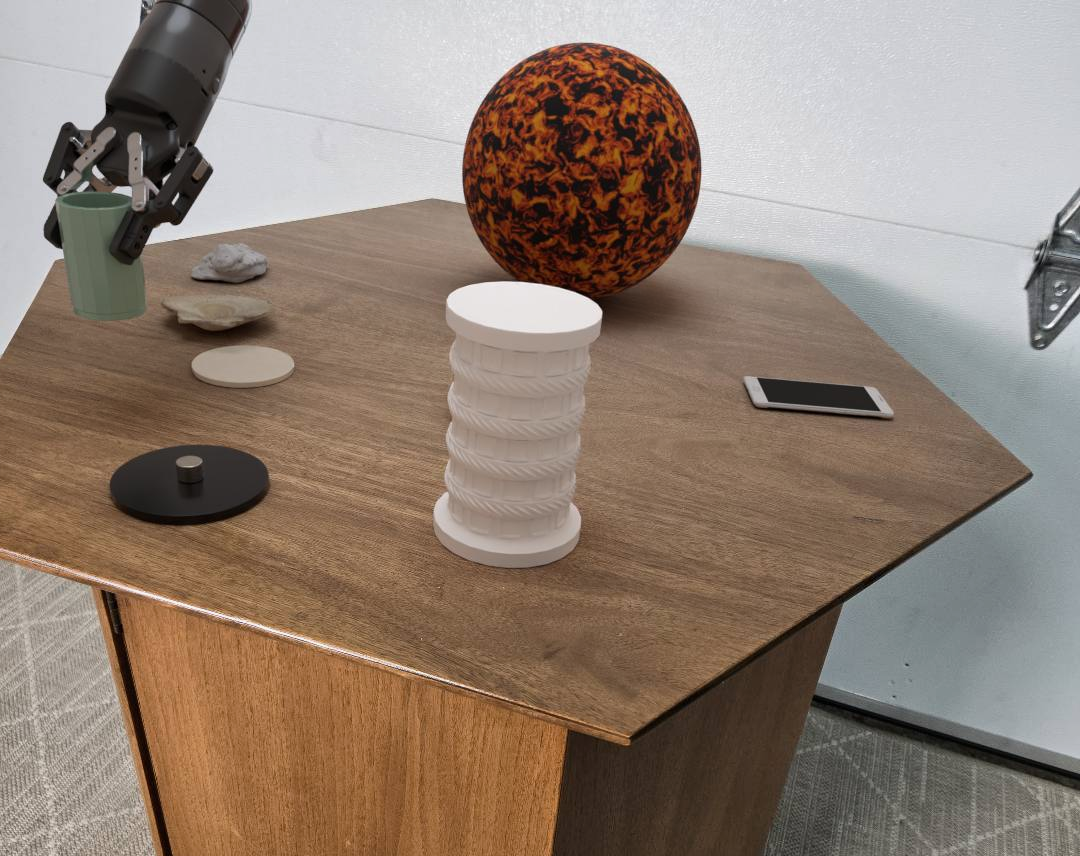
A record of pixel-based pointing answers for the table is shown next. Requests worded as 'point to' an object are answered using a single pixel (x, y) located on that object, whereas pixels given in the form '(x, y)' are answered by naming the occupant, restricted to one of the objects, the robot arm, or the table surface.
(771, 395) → the smartphone
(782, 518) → the table surface
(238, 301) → the seashell
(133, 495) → the lid
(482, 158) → the ball
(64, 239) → the pot
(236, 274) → the stone
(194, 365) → the coaster
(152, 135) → the robot arm
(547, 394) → the decorative container
